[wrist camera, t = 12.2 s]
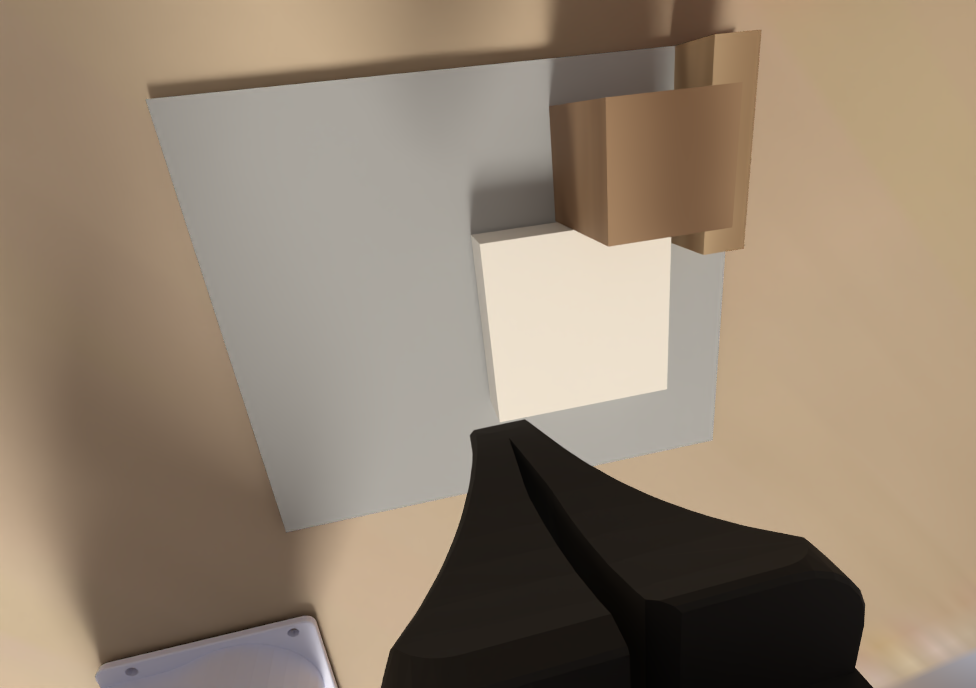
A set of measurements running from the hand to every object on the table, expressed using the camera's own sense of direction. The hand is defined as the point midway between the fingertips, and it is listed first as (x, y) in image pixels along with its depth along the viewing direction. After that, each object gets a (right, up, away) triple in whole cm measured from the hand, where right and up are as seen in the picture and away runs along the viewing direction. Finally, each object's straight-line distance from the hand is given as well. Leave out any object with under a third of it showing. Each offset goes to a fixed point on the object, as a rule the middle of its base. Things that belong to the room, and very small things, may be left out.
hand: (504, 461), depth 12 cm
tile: (0, +3, +8) cm, 8 cm away
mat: (0, +4, +9) cm, 10 cm away
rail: (+7, +10, +8) cm, 15 cm away
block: (+4, +10, +7) cm, 13 cm away
